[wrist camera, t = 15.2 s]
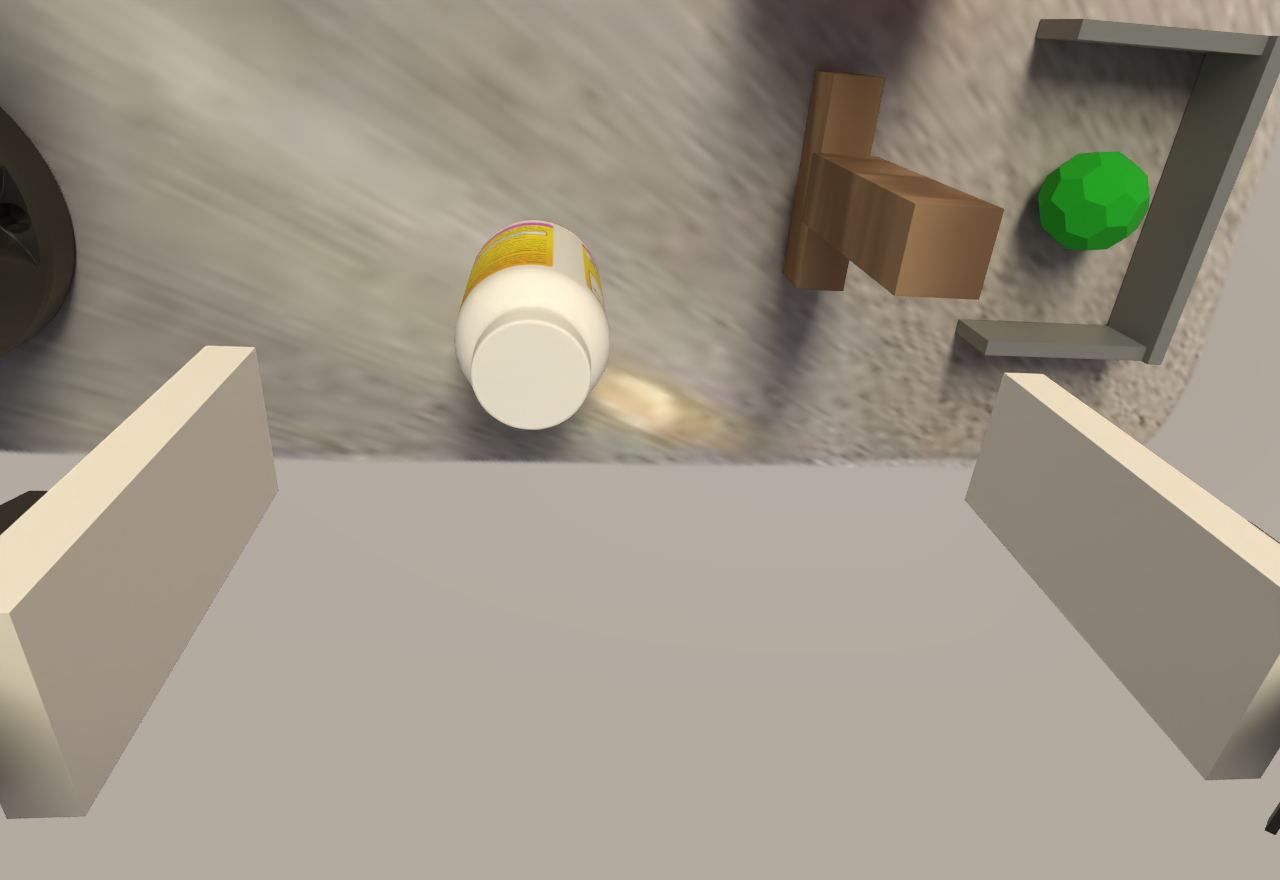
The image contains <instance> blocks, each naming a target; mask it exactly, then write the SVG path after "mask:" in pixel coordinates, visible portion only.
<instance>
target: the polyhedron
mask: <svg viewBox="0 0 1280 880" xmlns="http://www.w3.org/2000/svg"><path fill="white" fill-rule="evenodd" d="M1149 198H1150V195H1149V186H1148V178H1147V175H1146V174H1145V173H1144V172H1143V171H1142V170H1141V169H1140V168H1139V167H1138V166H1137V165H1136V164H1135V163H1133V162H1132V161H1131V160H1129V159H1128V158H1127V157H1126V156H1124V155H1123V154H1122V153H1120V152H1098V153H1083V154H1077V155H1076V156H1074V157H1073V158H1072V159H1070V160H1069V161H1067V162H1066V163H1065V164H1063V165H1062V166H1060V167H1059V168H1057V169H1056V170H1055V171H1053V172H1052V173H1051V174H1049V175H1048V176H1047V178H1046V180H1045V182H1044V183H1043V185H1042V187H1041V189H1040V191H1039V193H1038V203H1039V213H1040V222H1041V227H1042V228H1043V229H1044V230H1045V231H1046V232H1048V233H1049V234H1050V235H1051V236H1052V237H1053V238H1054V239H1055V240H1056V241H1058V242H1059V243H1060V244H1061V245H1062V246H1063V247H1065V248H1066V249H1067V250H1100V249H1108V248H1109V247H1111V246H1113V245H1114V244H1116V243H1118V242H1119V241H1121V240H1123V239H1124V238H1126V237H1127V236H1129V235H1130V234H1131V233H1132V232H1133V231H1135V230H1136V229H1137V228H1138V226H1139V224H1140V223H1141V221H1142V219H1143V217H1144V216H1145V214H1146V212H1147V210H1148V207H1149Z"/></svg>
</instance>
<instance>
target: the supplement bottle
mask: <svg viewBox="0 0 1280 880" xmlns="http://www.w3.org/2000/svg"><path fill="white" fill-rule="evenodd" d="M455 350H456V355H457V359H458V362H459V365H460V367H461V370H462V372H463V374H464V375H465V377H466V378H467V380H468V381H469V383H470V384H471V385H472V387H473V390H474V393H475V395H476V397H477V399H478V401H479V403H480V404H481V405H482V406H483V408H484V409H485V410H486V411H487V412H488V413H489V414H490V415H491V416H493V417H494V418H495V419H497V420H499V421H500V422H502V423H504V424H506V425H509V426H512V427H515V428H519V429H527V430H538V429H545V428H549V427H552V426H555V425H558V424H560V423H562V422H564V421H565V420H567V419H568V418H570V417H571V416H572V415H573V414H574V413H575V412H576V411H577V410H578V409H579V408H580V407H581V405H582V404H583V402H584V400H585V399H586V397H587V394H588V393H589V392H590V391H591V390H592V389H593V388H594V386H595V385H596V384H597V382H598V381H599V379H600V378H601V376H602V374H603V372H604V370H605V367H606V364H607V361H608V358H609V351H610V333H609V326H608V321H607V316H606V311H605V306H604V300H603V294H602V289H601V284H600V278H599V274H598V270H597V267H596V264H595V261H594V259H593V257H592V255H591V253H590V251H589V250H588V248H587V247H586V246H585V245H584V243H583V242H582V241H581V240H580V239H579V238H578V237H577V236H576V235H574V234H573V233H572V232H570V231H569V230H567V229H565V228H563V227H561V226H559V225H556V224H553V223H550V222H545V221H536V220H531V221H522V222H517V223H514V224H511V225H509V226H507V227H504V228H502V229H501V230H499V231H498V232H496V233H495V234H494V235H493V236H491V237H490V238H489V239H488V240H487V242H486V243H485V244H484V245H483V247H482V248H481V250H480V252H479V253H478V255H477V257H476V259H475V262H474V265H473V268H472V271H471V274H470V278H469V281H468V284H467V288H466V291H465V294H464V298H463V301H462V304H461V307H460V311H459V314H458V318H457V322H456V327H455Z"/></svg>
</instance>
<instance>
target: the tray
mask: <svg viewBox="0 0 1280 880" xmlns="http://www.w3.org/2000/svg"><path fill="white" fill-rule="evenodd" d="M1036 38H1043V39H1054V40H1065V41H1077V42H1088V43H1100V44H1111V45H1122V46H1134V47H1145V48H1157V49H1168V50H1180V51H1191V52H1202V53H1207V54H1206V56H1205V59H1204V62H1203V65H1202V67H1201V70H1200V73H1199V76H1198V78H1197V81H1196V84H1195V87H1194V89H1193V92H1192V95H1191V97H1190V100H1189V103H1188V106H1187V108H1186V111H1185V114H1184V117H1183V119H1182V122H1181V125H1180V128H1179V130H1178V133H1177V136H1176V139H1175V141H1174V144H1173V147H1172V150H1171V152H1170V155H1169V158H1168V161H1167V163H1166V166H1165V169H1164V172H1163V174H1162V177H1161V180H1160V183H1159V185H1158V188H1157V191H1156V194H1155V196H1154V199H1153V202H1152V205H1151V207H1150V210H1149V213H1148V216H1147V218H1146V221H1145V224H1144V227H1143V229H1142V232H1141V235H1140V238H1139V240H1138V243H1137V246H1136V248H1135V251H1134V254H1133V257H1132V259H1131V262H1130V265H1129V268H1128V270H1127V273H1126V276H1125V279H1124V281H1123V284H1122V287H1121V290H1120V292H1119V295H1118V298H1117V301H1116V303H1115V306H1114V309H1113V312H1112V314H1111V317H1110V320H1109V323H1108V325H1107V326H1105V325H1081V324H1057V323H1033V322H1009V321H985V320H962V319H959V322H958V326H957V329H956V333H957V334H958V335H959V336H961V337H962V338H963V339H964V340H966V341H967V342H968V343H970V344H971V345H972V346H974V347H975V348H976V349H977V350H979V351H980V352H981V353H983V354H984V355H996V356H1024V357H1051V358H1079V359H1106V360H1133V361H1143V362H1144V363H1146V364H1155V365H1161V363H1162V361H1163V358H1164V356H1165V353H1166V351H1167V348H1168V346H1169V343H1170V341H1171V339H1172V336H1173V334H1174V331H1175V329H1176V326H1177V324H1178V321H1179V319H1180V316H1181V314H1182V312H1183V309H1184V307H1185V304H1186V302H1187V299H1188V297H1189V294H1190V292H1191V289H1192V287H1193V284H1194V282H1195V280H1196V277H1197V275H1198V272H1199V270H1200V267H1201V265H1202V262H1203V260H1204V257H1205V255H1206V253H1207V250H1208V248H1209V245H1210V243H1211V240H1212V238H1213V235H1214V233H1215V230H1216V228H1217V225H1218V223H1219V221H1220V218H1221V216H1222V213H1223V211H1224V208H1225V206H1226V203H1227V201H1228V198H1229V196H1230V194H1231V191H1232V189H1233V186H1234V184H1235V181H1236V179H1237V176H1238V174H1239V171H1240V169H1241V166H1242V164H1243V162H1244V159H1245V157H1246V154H1247V152H1248V149H1249V147H1250V144H1251V142H1252V139H1253V137H1254V135H1255V132H1256V130H1257V127H1258V125H1259V122H1260V120H1261V117H1262V115H1263V112H1264V110H1265V107H1266V105H1267V103H1268V100H1269V98H1270V95H1271V93H1272V90H1273V88H1274V85H1275V83H1276V80H1277V78H1278V76H1279V73H1280V36H1264V35H1253V34H1242V33H1231V32H1220V31H1209V30H1198V29H1187V28H1176V27H1165V26H1154V25H1143V24H1133V23H1122V22H1111V21H1100V20H1089V19H1041V21H1040V24H1039V28H1038V32H1037V35H1036Z"/></svg>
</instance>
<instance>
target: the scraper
mask: <svg viewBox="0 0 1280 880" xmlns="http://www.w3.org/2000/svg"><path fill="white" fill-rule="evenodd" d="M884 82H885V78H882V77H876V76H870V75H864V74H852V73H840V72H827V71H815V75H814V82H813V88H812V94H811V100H810V106H809V113H808V119H807V125H806V131H805V138H804V144H803V150H802V156H801V163H800V169H799V175H798V181H797V188H796V194H795V200H794V206H793V213H792V219H791V225H790V231H789V238H788V244H787V250H786V256H785V263H784V269H783V273H784V274H785V276H786V277H787V278H788V279H789V280H790V281H791V282H792V283H793V284H794V285H795V286H796V288H797V289H807V290H830V291H843V289H844V284H845V279H846V274H847V269H848V264H849V260H850V261H852V262H853V263H854V264H855V265H857V266H858V267H859V268H860V269H862V270H863V271H864V272H865V273H867V274H868V275H869V276H870V277H872V278H873V279H874V280H875V281H877V282H878V283H879V284H880V285H882V286H883V287H884V288H885V289H887V290H888V291H889V292H890V293H892V294H893V295H894V296H912V297H934V298H956V299H978V300H979V297H980V294H981V290H982V287H983V283H984V279H985V276H986V272H987V269H988V265H989V262H990V258H991V255H992V251H993V247H994V244H995V240H996V237H997V233H998V230H999V226H1000V223H1001V219H1002V215H1003V212H1004V209H1003V208H1000V207H998V206H995V205H993V204H990V203H988V202H986V201H983V200H981V199H978V198H976V197H974V196H971V195H969V194H966V193H964V192H961V191H959V190H957V189H954V188H952V187H949V186H947V185H944V184H942V183H940V182H937V181H935V180H932V179H930V178H928V177H925V176H923V175H920V174H918V173H915V172H913V171H911V170H908V169H906V168H903V167H901V166H899V165H896V164H894V163H891V162H889V161H886V160H884V159H882V158H879V157H872V156H870V153H871V147H872V142H873V137H874V132H875V127H876V122H877V117H878V112H879V107H880V102H881V97H882V92H883V87H884Z"/></svg>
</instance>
